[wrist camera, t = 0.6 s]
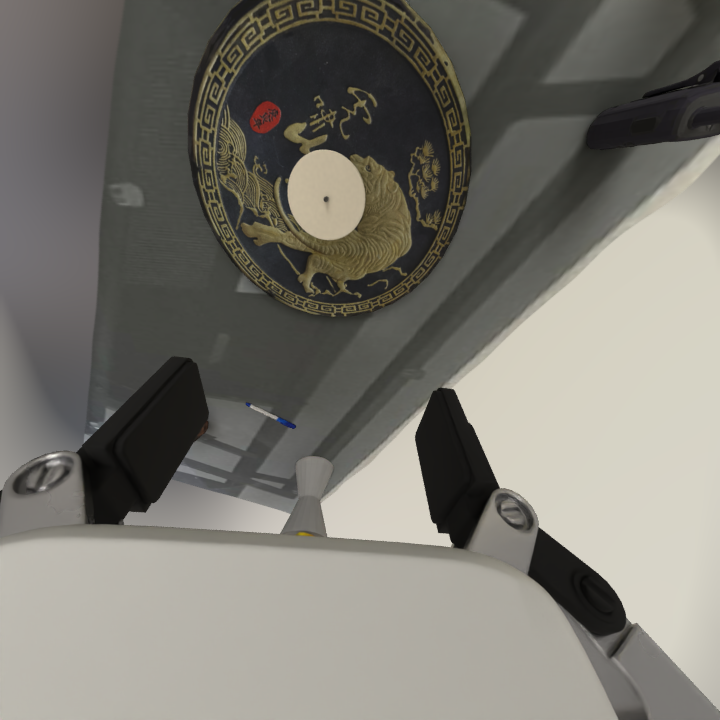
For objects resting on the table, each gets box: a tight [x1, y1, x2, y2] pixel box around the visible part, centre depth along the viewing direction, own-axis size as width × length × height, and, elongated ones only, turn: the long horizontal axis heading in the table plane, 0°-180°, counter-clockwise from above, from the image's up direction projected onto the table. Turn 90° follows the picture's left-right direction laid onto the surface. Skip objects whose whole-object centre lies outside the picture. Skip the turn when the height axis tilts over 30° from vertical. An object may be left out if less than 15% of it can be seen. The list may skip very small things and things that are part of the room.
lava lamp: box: [280, 456, 333, 537], centre depth 47 cm, size 9×9×35 cm
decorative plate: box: [188, 0, 471, 317], centre depth 30 cm, size 30×2×30 cm
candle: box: [288, 150, 365, 240], centre depth 26 cm, size 7×7×7 cm
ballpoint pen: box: [246, 403, 296, 429], centre depth 51 cm, size 10×1×1 cm, turn 53°
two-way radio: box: [587, 60, 720, 150], centre depth 21 cm, size 6×4×15 cm
